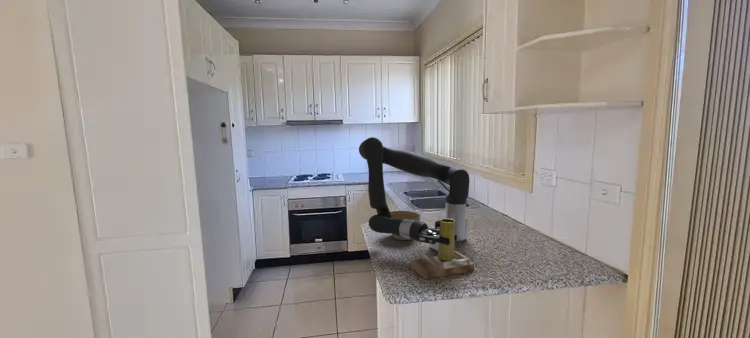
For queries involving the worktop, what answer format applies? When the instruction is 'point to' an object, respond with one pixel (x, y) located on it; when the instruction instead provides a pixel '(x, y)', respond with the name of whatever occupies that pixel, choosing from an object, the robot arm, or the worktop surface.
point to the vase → (447, 232)
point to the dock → (441, 265)
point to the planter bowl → (404, 215)
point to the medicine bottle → (436, 245)
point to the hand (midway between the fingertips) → (453, 239)
